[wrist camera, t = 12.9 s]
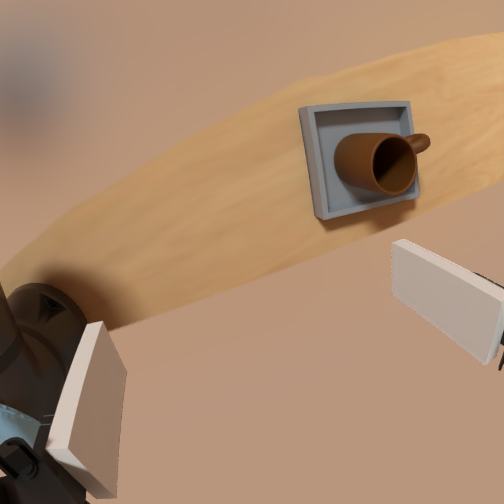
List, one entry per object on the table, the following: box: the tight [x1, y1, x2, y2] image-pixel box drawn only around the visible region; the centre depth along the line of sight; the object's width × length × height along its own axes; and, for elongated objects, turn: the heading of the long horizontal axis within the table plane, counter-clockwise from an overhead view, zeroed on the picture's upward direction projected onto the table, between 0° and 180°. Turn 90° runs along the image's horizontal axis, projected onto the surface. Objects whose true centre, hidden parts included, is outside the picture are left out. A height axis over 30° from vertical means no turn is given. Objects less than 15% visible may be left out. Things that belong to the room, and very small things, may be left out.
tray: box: [298, 101, 419, 220], centre depth 41 cm, size 17×15×3 cm
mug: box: [334, 133, 430, 196], centre depth 38 cm, size 12×8×9 cm, turn 120°
